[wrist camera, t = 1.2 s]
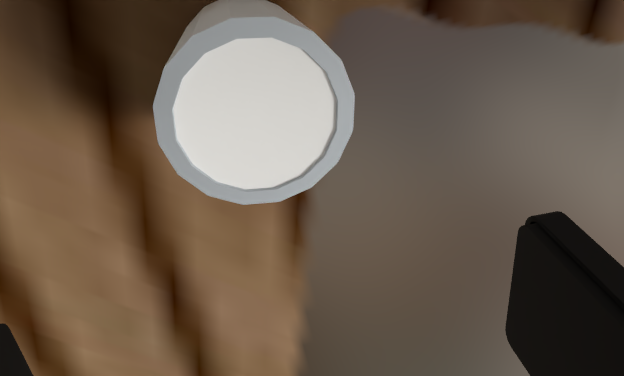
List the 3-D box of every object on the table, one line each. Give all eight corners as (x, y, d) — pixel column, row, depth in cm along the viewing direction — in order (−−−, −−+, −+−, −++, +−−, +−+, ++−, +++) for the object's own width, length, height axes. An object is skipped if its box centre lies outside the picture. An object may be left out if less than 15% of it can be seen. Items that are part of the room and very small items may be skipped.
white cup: (303, -38, 23) (339, -7, 17) (331, 111, 26) (368, 180, 20) (141, -1, 22) (120, 45, 16) (191, 145, 26) (188, 226, 20)
